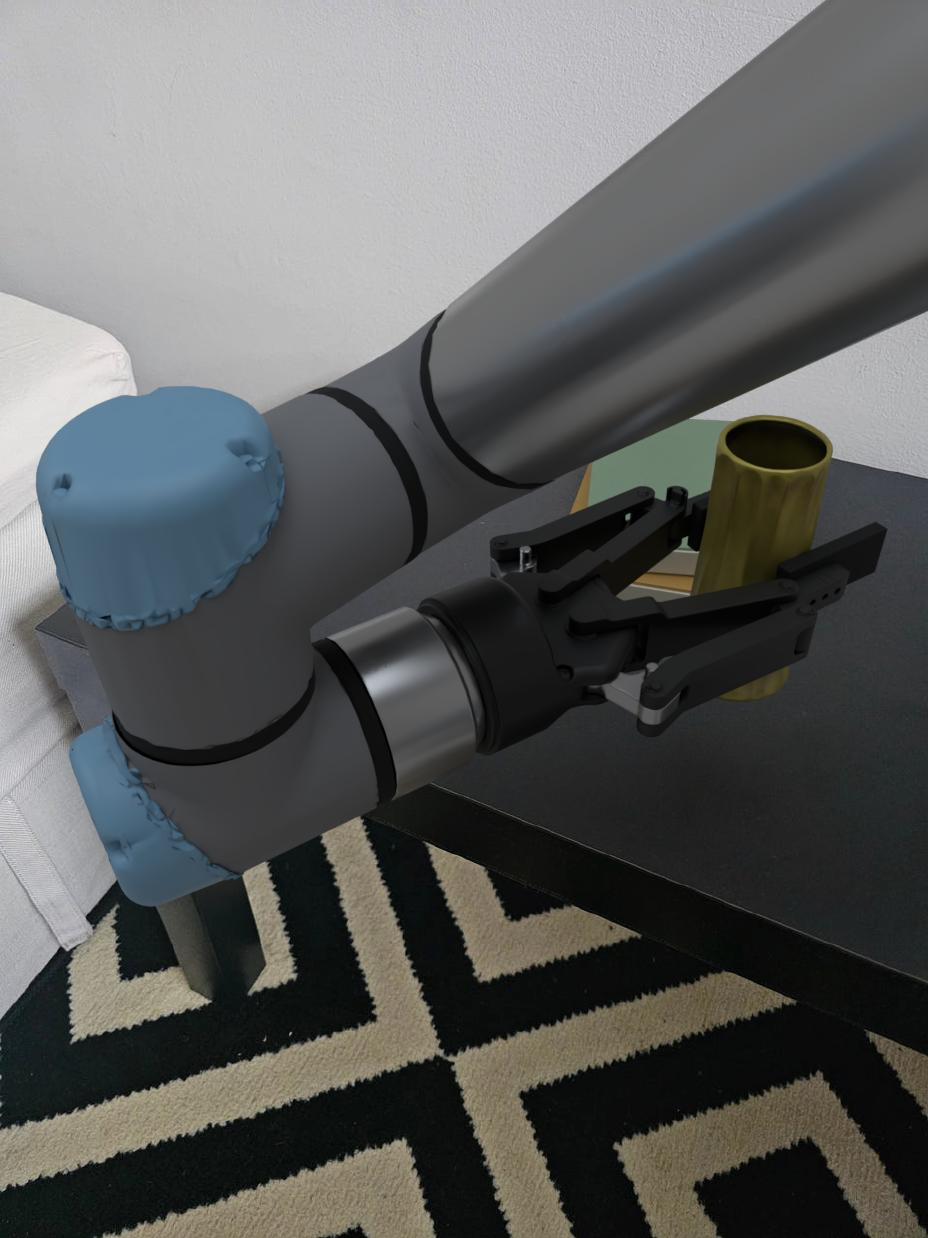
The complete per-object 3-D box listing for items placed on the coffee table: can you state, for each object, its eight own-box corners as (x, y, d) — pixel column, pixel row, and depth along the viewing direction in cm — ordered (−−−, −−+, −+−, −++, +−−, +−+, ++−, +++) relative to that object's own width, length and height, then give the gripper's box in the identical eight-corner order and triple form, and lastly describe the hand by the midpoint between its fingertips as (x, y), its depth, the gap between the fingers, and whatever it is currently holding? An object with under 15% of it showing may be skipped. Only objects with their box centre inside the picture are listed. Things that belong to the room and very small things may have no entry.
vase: (720, 614, 59) (758, 396, 50) (810, 665, 56) (870, 441, 46) (654, 664, 56) (681, 442, 47) (745, 721, 53) (795, 494, 43)
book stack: (756, 636, 71) (769, 575, 68) (545, 600, 75) (547, 541, 71) (775, 482, 86) (787, 425, 82) (597, 458, 89) (601, 403, 86)
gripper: (362, 629, 53) (704, 494, 61) (560, 884, 41) (955, 672, 49) (346, 511, 48) (720, 382, 56) (567, 761, 36) (1004, 548, 44)
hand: (829, 517), depth 53 cm, fingers closed on vase, 5 cm apart
